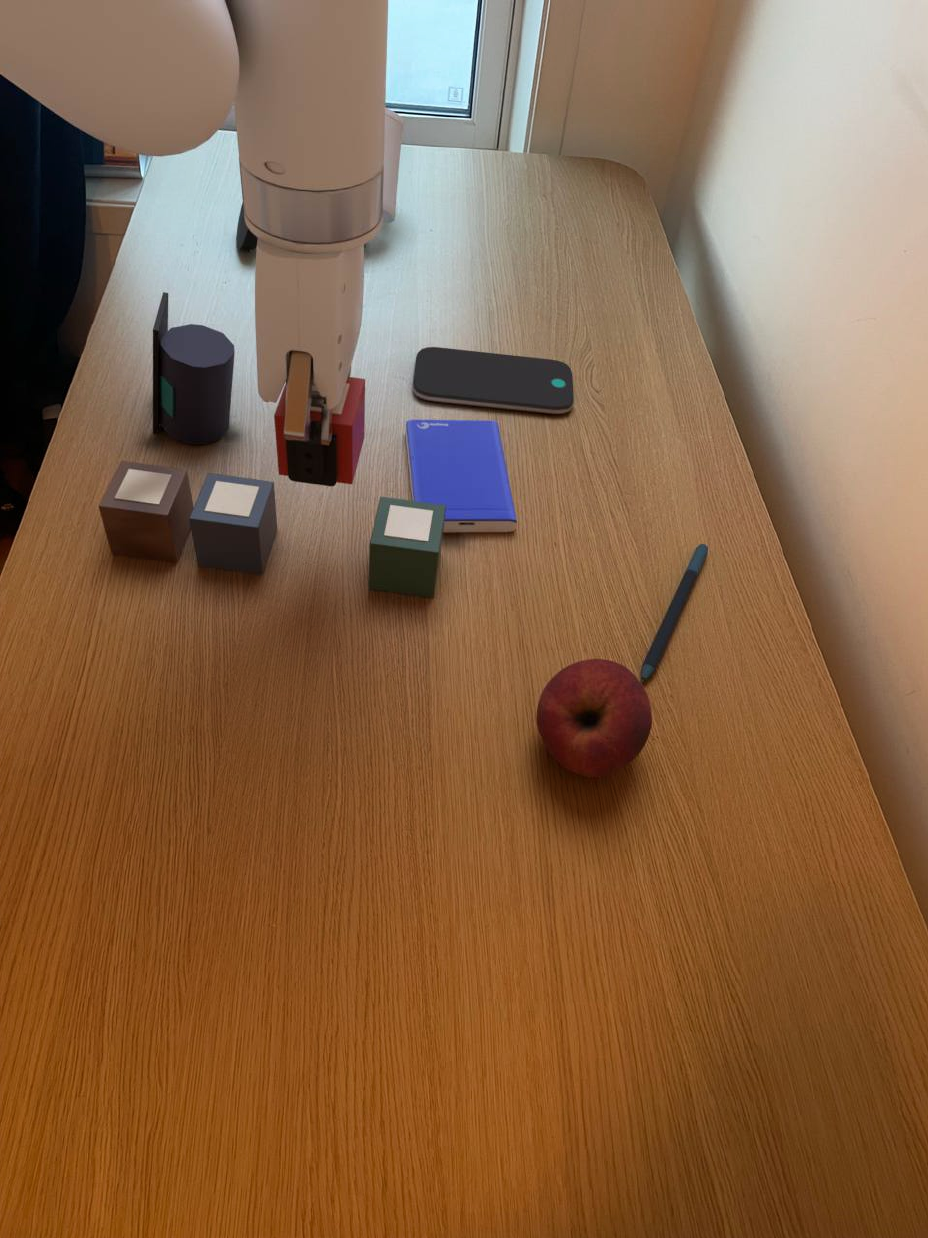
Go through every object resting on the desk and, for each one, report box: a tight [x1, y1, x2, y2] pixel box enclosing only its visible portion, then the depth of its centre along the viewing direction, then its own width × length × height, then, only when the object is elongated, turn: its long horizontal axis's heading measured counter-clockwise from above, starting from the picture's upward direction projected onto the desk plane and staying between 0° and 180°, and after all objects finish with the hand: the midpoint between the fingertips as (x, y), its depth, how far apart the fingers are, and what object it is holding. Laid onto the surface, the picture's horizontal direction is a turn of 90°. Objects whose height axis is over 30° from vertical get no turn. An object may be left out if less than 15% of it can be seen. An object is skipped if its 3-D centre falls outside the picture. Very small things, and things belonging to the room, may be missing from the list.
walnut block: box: [98, 460, 194, 564], centre depth 70 cm, size 5×5×5 cm
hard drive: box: [404, 419, 518, 533], centre depth 79 cm, size 2×8×12 cm
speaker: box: [152, 291, 236, 445], centre depth 77 cm, size 8×6×10 cm
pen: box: [640, 543, 709, 684], centre depth 72 cm, size 1×16×1 cm, turn 154°
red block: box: [273, 376, 366, 485], centre depth 63 cm, size 5×5×5 cm
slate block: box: [189, 472, 278, 575], centre depth 70 cm, size 5×5×5 cm
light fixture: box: [235, 106, 405, 253], centre depth 100 cm, size 10×16×17 cm
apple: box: [536, 658, 653, 778], centre depth 61 cm, size 7×8×8 cm
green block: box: [368, 496, 446, 599], centre depth 70 cm, size 5×5×5 cm
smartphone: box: [412, 346, 575, 415], centre depth 88 cm, size 8×1×15 cm
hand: (321, 450), depth 64 cm, fingers closed on red block, 5 cm apart
